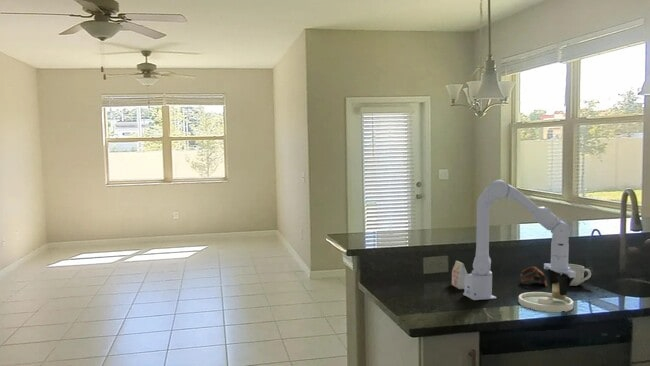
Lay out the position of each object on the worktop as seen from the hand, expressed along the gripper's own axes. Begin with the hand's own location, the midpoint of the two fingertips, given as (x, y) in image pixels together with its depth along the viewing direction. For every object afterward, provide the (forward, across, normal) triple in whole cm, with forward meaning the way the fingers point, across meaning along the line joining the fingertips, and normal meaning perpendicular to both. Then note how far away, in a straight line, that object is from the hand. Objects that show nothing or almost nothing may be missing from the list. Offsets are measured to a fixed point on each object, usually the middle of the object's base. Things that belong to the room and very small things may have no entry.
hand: (558, 293), depth 186 cm
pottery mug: (+4, +26, -9) cm, 28 cm away
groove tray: (+4, 0, +5) cm, 6 cm away
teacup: (+4, +21, -23) cm, 31 cm away
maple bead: (+1, 0, 0) cm, 1 cm away
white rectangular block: (+4, +29, +23) cm, 38 cm away
